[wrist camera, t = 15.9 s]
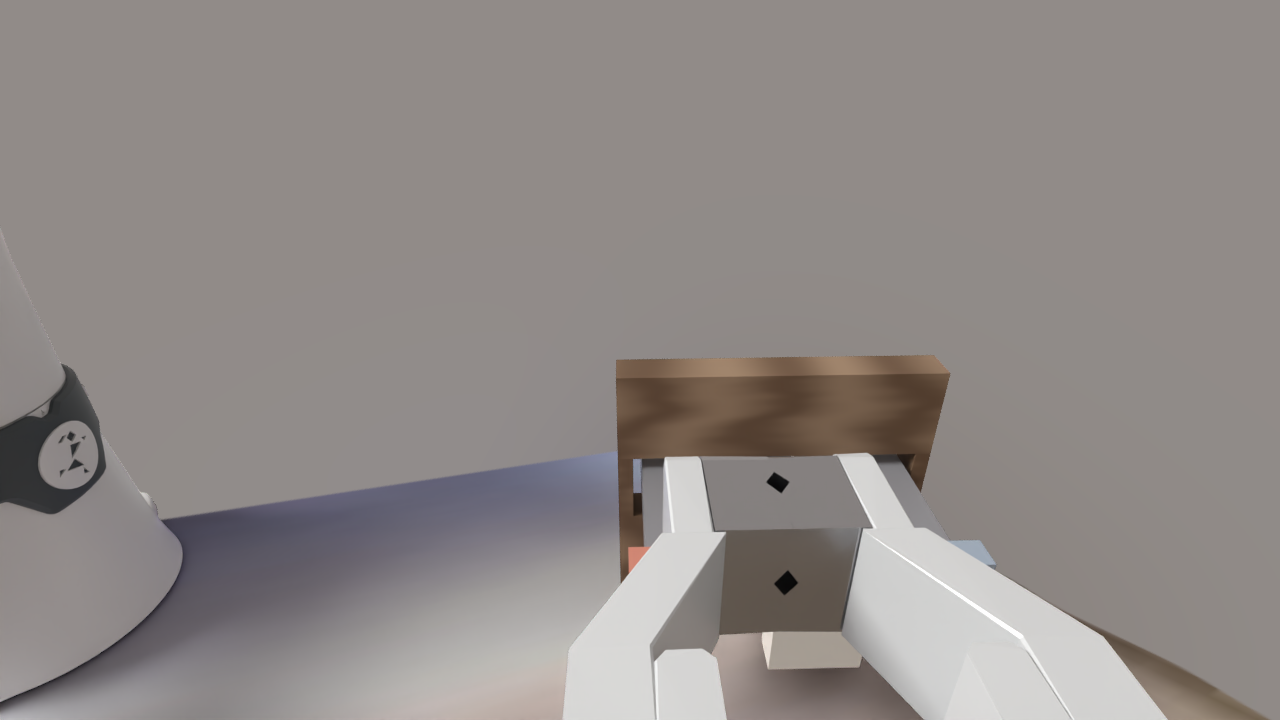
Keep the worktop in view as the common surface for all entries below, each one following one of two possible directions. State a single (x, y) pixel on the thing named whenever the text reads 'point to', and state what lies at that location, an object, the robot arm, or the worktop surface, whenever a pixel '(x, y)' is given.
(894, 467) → the blue-capped grey rod
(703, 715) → the robot arm
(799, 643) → the off-white plunger
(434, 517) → the worktop surface
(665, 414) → the walnut panel
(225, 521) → the worktop surface
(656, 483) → the brick-red plunger
